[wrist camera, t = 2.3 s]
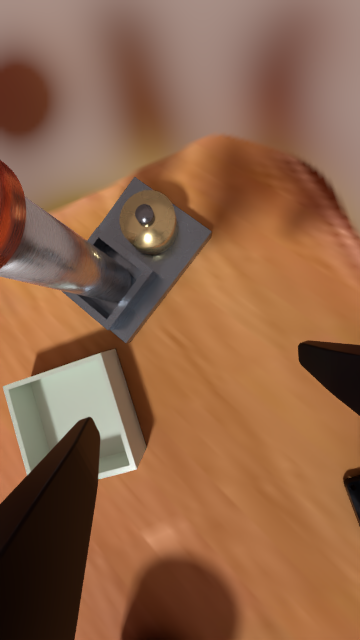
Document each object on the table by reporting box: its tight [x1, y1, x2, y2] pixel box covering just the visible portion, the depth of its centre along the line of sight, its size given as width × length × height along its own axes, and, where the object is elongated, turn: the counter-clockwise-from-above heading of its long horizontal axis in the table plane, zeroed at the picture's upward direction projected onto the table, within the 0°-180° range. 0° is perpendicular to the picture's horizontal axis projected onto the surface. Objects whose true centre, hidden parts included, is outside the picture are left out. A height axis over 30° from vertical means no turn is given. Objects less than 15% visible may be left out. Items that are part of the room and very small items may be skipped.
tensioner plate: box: [62, 177, 212, 343], centre depth 18 cm, size 10×14×4 cm
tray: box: [3, 349, 147, 479], centre depth 19 cm, size 11×11×3 cm
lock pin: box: [0, 160, 131, 302], centre depth 13 cm, size 5×5×14 cm
